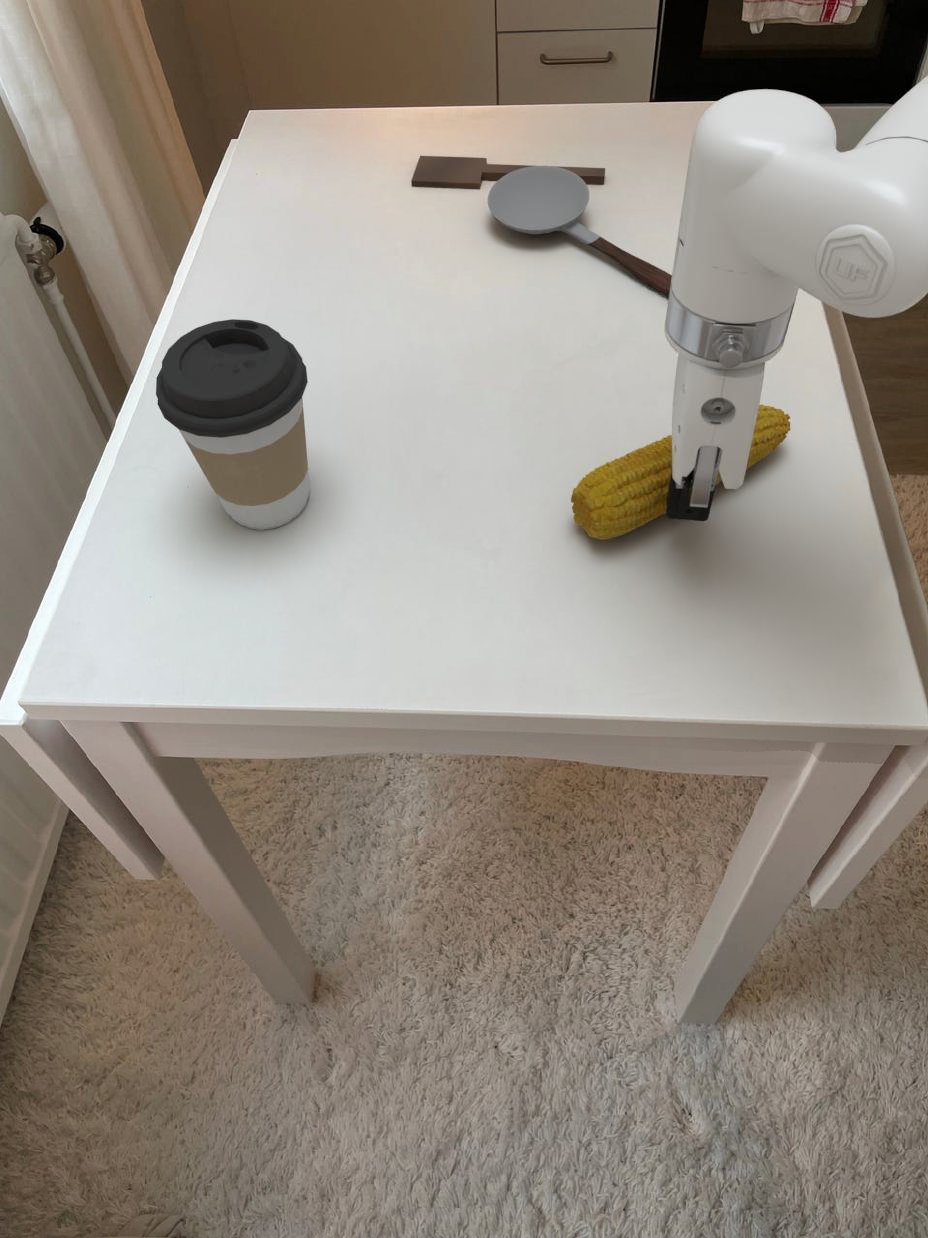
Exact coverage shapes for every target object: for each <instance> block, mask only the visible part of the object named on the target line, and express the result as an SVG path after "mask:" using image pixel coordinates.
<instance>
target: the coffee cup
mask: <svg viewBox="0 0 928 1238" xmlns="http://www.w3.org/2000/svg"><path fill="white" fill-rule="evenodd" d="M307 371H308V370H307V366H306V364H305V363H304V361H303V357H302V355H301V354H300V353H299V351H298V350H297V348H296V347H295V345H294V344H293V343H292V342H290V341H288V340H287V339H285V337H283V336H282V335H281V333H280V332H278V331H277V330H275V329H274V328H272V327H271V326H269V325H268V324H264V323H262V322H259V321H254V320H250V319H235V318H234V319H233V318H231V319H225V320H217V321H212V322H209V323H207V324H203V325H201V326H197V327H196V328H193V329H192V330H190V331H188V332H187V333H185V334H183V335H181V336H179V338H178V339H177V340H175V342H174V343H173V344H172V345H171V346H170V347H169V348H167V351H166V352H165V355H164V357H163V359H162V361H161V368H160V370H159V372H158V374H157V376H156V377H155V378H156V381H155V384H156V385H155V396H156V398H157V406H158V408H159V410H160V412H161V414H162V416H163V418H164V419H165V420H166V421H167V422H169V423H170V424H171V425H172V426H174V427H175V428H176V429H177V430H178V431H179V433H180V435H181V437H182V438H183V439H184V441H185V444H186V445H187V447H188V448H189V450H190V453H192V456H193V457H194V460H195V461H196V462H197V464H198V466H199V468H200V470H201V471H202V473H203V474H204V476H205V478H206V480H207V482H208V483H209V485H210V487H211V488H212V490H213V492H214V493H215V495H216V497H217V499H218V500H219V502H220V504H221V506H222V508H223V509H224V511H225V513H226V514H227V515H229V516H230V517H231V519H232V520H233V521H235V523H237V524H238V525H239V526H242V527H244V528H247V529H249V530H258V531H265V530H270V529H271V530H272V529H277V528H280V527H282V526H285V525H287V524H289V523H291V522H292V521H294V520H295V519H296V518H297V517H299V516H300V515H301V513H303V511H304V509H305V508H306V507H307V504H308V501H309V493H310V490H311V487H310V475H309V462H308V450H307V449H308V448H307V438H306V425H305V413H304V412H305V411H304V399H303V396H304V394H305V391H306V388H307V385H308V383H309V382H308V372H307Z"/></svg>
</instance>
